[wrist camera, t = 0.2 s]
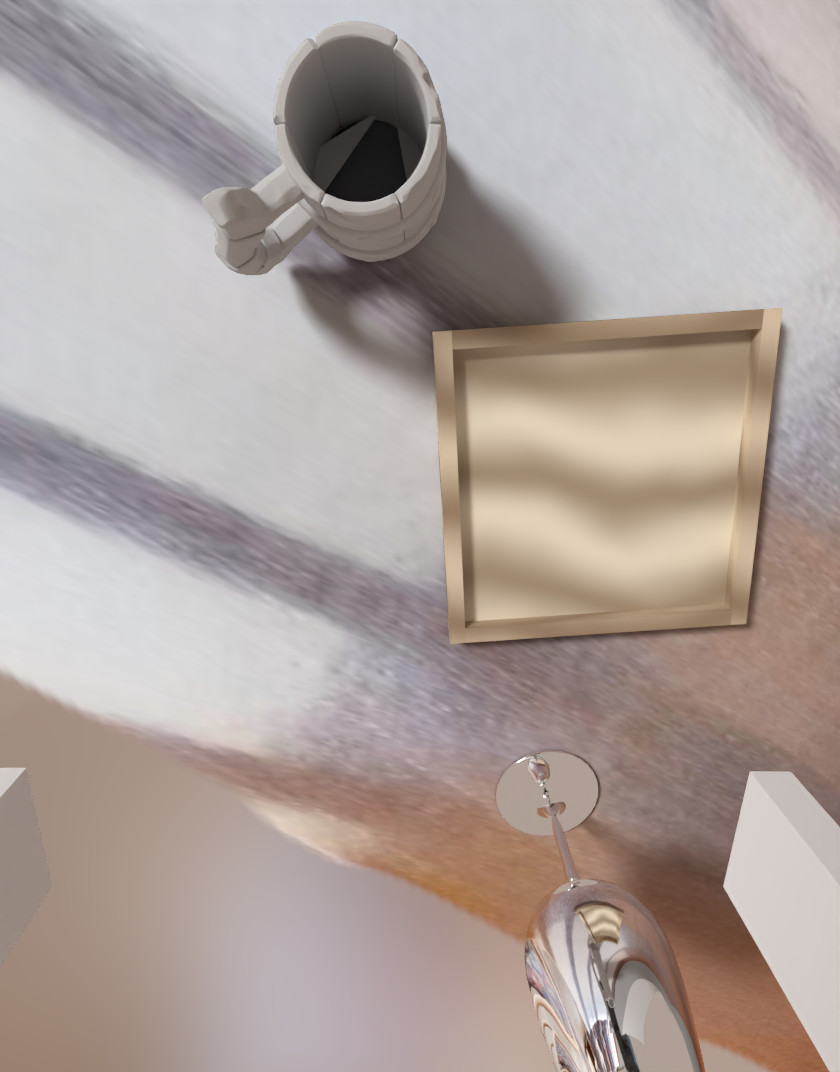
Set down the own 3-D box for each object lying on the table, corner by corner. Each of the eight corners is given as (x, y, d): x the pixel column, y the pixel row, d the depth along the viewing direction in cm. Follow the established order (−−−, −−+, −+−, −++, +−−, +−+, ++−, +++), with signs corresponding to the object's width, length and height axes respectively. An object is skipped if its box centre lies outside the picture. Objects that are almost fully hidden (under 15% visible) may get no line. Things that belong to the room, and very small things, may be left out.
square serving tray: (432, 331, 34) (433, 331, 33) (766, 309, 34) (782, 307, 33) (448, 633, 40) (450, 643, 39) (734, 613, 40) (746, 624, 39)
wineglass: (525, 732, 43) (619, 1047, 24) (619, 770, 44) (781, 1100, 25) (474, 813, 45) (524, 1162, 26) (565, 847, 46) (677, 1206, 27)
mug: (472, 208, 32) (507, 137, 21) (295, 336, 34) (240, 336, 23) (391, 65, 30) (381, -99, 19) (208, 211, 32) (99, 141, 21)
